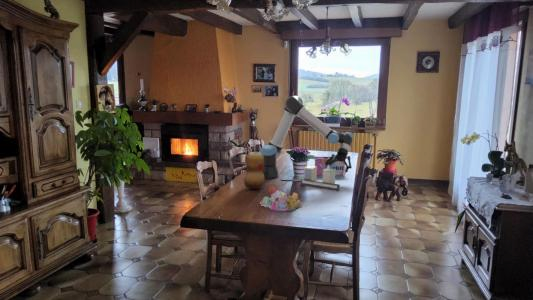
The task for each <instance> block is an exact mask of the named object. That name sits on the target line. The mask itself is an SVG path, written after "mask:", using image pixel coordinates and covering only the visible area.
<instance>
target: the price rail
mask: <svg viewBox="0 0 533 300" xmlns="http://www.w3.org/2000/svg"><path fill="white" fill-rule="evenodd" d="M300 186H306V187H312V188H317V189H323V190H324V189H325V190H329V191H335V190H336V192H339V191H340V189H341V187H340V184H338V183H335V184H333V183H327V182H322V181H319V180H317V181H314V180H307V179H304V178H301V179H300Z"/></svg>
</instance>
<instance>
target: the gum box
mask: <svg viewBox="0 0 533 300" xmlns="http://www.w3.org/2000/svg"><path fill="white" fill-rule="evenodd" d="M330 157H331V156H315V157H314V166H315V167H317V176H323V170H324V169H326V166H327V165H325V162H326V161H327V160H328V159H329V158H330ZM336 160H337V159H336ZM346 160H347V159H345V161H346ZM345 167H346V165H345V163H344V162H343V161H342V162H341V161H337V162H335V163H333V164H332V165H330V169H336V170H335V176H343V172H344V169H345Z"/></svg>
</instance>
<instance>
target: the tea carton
mask: <svg viewBox="0 0 533 300" xmlns="http://www.w3.org/2000/svg"><path fill="white" fill-rule="evenodd" d="M335 170H336V169H330V168H327V169H324V170H323V175H322V180H321V182H327V183H333V184H336V175H335Z"/></svg>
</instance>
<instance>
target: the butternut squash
mask: <svg viewBox="0 0 533 300" xmlns="http://www.w3.org/2000/svg"><path fill="white" fill-rule="evenodd" d="M245 166H246V167H245V168H246V172H245V175H244V179H243V181H244V182H243V183H244V185H245V187H246V188H248V189H250V190H258V189H261V187H263V186H264V183H265V178H264V174H263V168H264V156H263V154H261V152H259V151H251V152H249V153H248V154H247V156H246V161H245Z"/></svg>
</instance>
